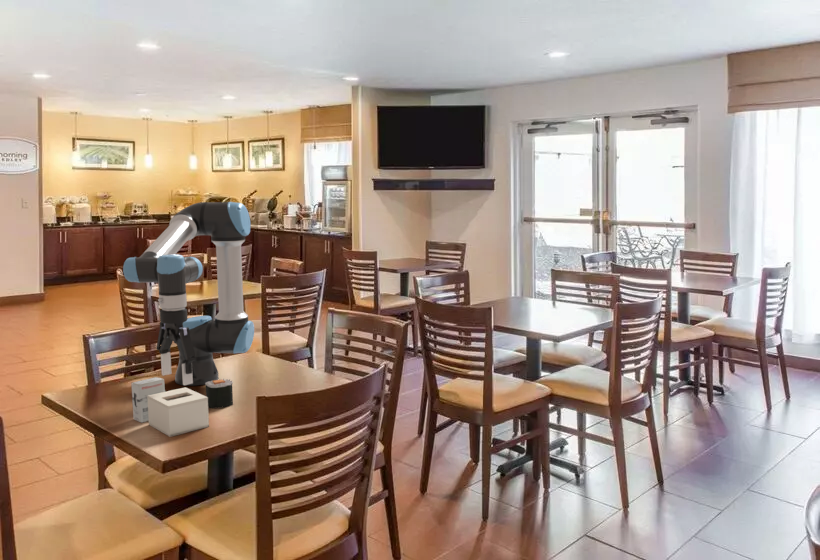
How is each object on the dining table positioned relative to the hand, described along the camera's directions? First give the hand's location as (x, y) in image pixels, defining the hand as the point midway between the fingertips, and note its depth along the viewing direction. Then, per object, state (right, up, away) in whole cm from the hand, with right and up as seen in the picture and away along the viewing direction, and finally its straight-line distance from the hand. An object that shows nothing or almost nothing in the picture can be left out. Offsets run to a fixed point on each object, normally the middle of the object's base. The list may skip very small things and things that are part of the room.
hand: (177, 379), depth 203 cm
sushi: (+7, -11, +22) cm, 26 cm away
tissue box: (0, -14, +2) cm, 14 cm away
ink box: (-11, -13, +9) cm, 19 cm away
